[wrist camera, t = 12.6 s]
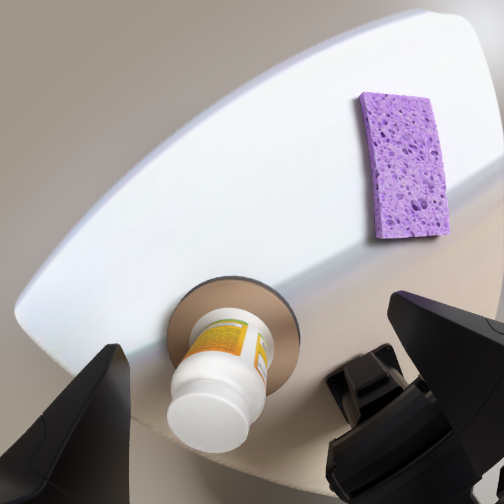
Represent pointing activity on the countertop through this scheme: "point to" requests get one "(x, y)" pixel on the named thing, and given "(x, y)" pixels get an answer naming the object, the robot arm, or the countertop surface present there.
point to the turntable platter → (241, 307)
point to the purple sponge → (405, 166)
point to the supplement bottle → (219, 387)
